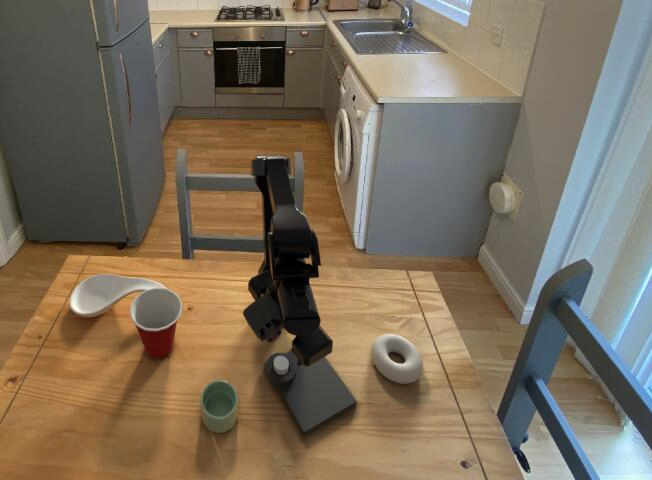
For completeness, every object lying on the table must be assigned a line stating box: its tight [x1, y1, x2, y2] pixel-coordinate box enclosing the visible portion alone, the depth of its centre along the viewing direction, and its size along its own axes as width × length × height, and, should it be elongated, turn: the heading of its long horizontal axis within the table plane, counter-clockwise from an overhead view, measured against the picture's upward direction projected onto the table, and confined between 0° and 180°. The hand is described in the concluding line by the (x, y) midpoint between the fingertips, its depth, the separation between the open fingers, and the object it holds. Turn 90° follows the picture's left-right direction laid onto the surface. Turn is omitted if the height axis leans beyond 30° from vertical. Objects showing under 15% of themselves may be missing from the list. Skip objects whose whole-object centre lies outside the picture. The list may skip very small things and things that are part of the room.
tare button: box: [273, 356, 289, 375], centre depth 84 cm, size 3×3×2 cm
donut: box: [370, 333, 424, 385], centre depth 86 cm, size 10×3×10 cm
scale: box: [264, 349, 358, 437], centre depth 82 cm, size 14×13×3 cm
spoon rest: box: [68, 273, 167, 318], centre depth 100 cm, size 24×12×7 cm, turn 89°
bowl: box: [200, 379, 239, 434], centre depth 78 cm, size 7×7×4 cm
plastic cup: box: [129, 287, 183, 360], centre depth 89 cm, size 11×11×12 cm
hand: (285, 344), depth 81 cm, fingers open, 9 cm apart
